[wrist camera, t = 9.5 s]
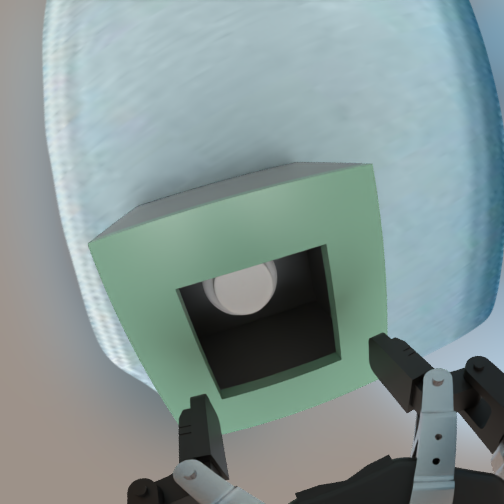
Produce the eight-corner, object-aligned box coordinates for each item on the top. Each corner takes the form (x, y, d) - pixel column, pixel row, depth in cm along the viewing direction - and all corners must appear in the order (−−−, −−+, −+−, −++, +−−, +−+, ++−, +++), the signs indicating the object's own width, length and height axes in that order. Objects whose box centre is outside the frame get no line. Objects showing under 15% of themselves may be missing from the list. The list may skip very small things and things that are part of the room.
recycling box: (136, 206, 27) (87, 243, 14) (294, 162, 29) (372, 163, 15) (187, 344, 32) (190, 441, 19) (322, 302, 34) (386, 375, 20)
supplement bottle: (264, 285, 30) (290, 318, 20) (209, 295, 30) (209, 333, 19) (255, 230, 29) (279, 237, 19) (199, 239, 29) (193, 251, 19)
